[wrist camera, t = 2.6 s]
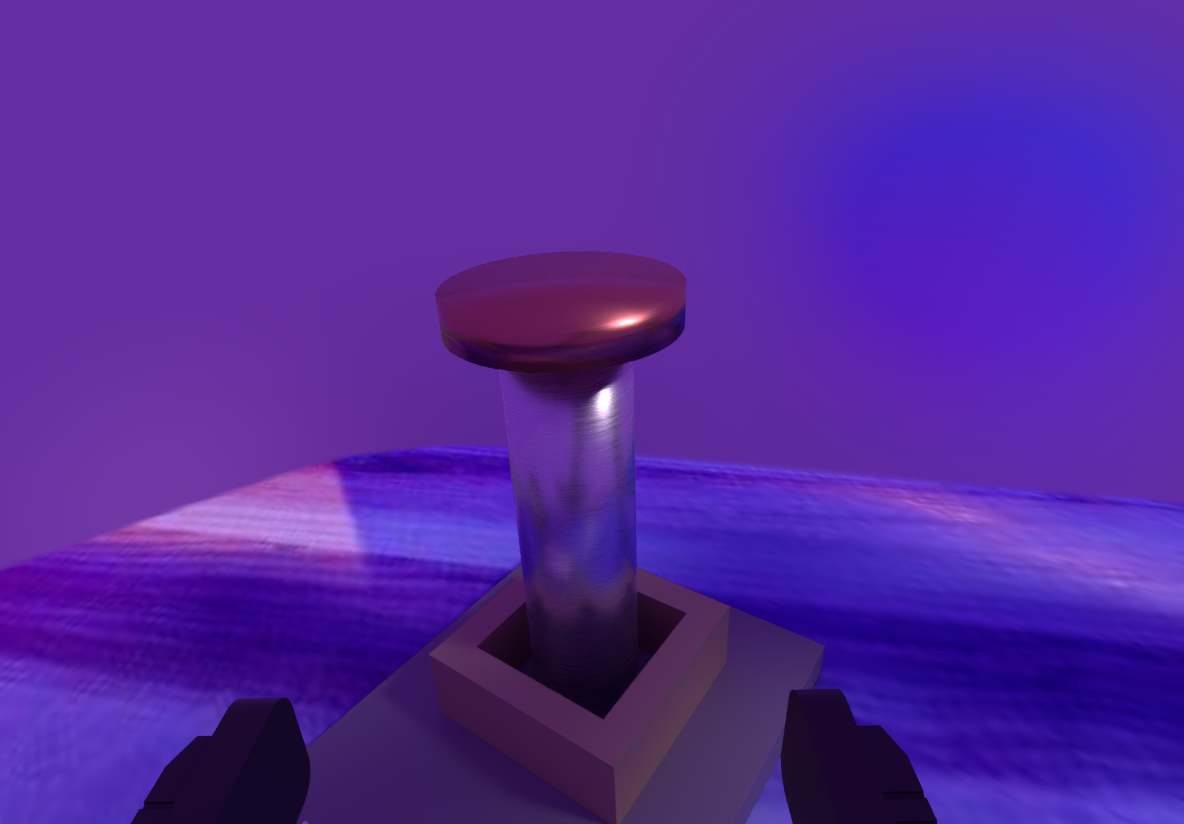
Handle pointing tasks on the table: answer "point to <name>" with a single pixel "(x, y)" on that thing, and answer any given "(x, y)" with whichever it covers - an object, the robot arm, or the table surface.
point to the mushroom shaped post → (571, 441)
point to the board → (568, 724)
